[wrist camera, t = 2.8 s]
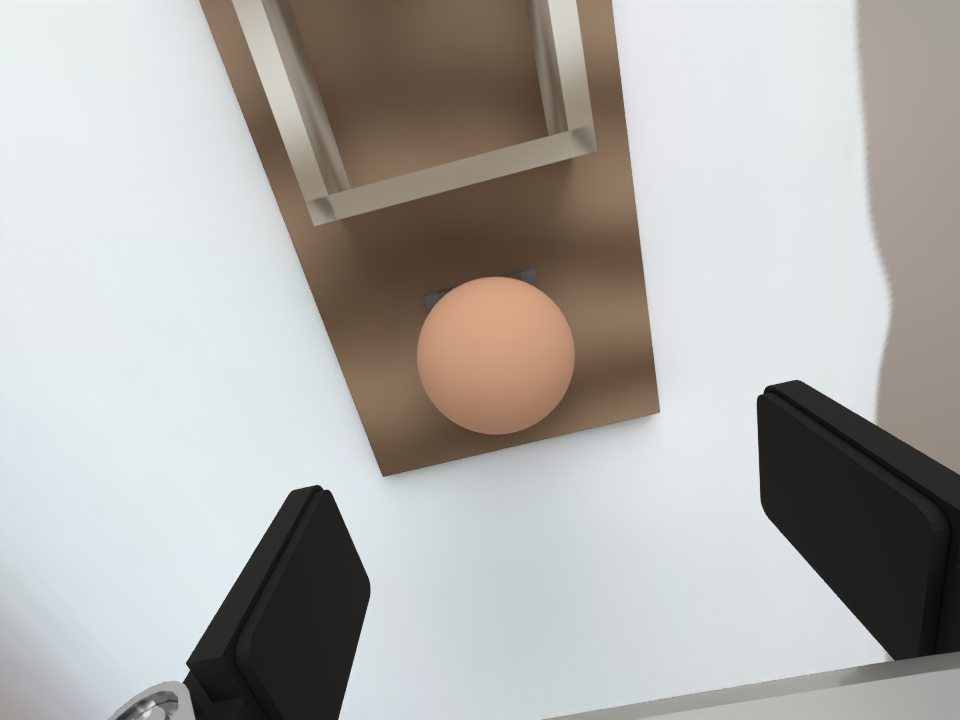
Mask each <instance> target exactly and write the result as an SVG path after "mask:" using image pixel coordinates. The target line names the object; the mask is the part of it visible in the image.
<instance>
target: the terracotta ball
mask: <svg viewBox="0 0 960 720" xmlns="http://www.w3.org/2000/svg"><path fill="white" fill-rule="evenodd" d="M574 362H575V350H574V342H573V337H572V333H571V330H570V327H569V325H568V323H567V321H566V319H565V317H564V315H563V313H562V312H561V310H560V309H559V307H558V306H557V305H556V304H555V303H554V302H553V301H552V300H551V299H550V298H549V297H548V296H547V295H546V294H544V293H543V292H542V291H540V290H539V289H537V288H536V287H534V286H532V285H530V284H528V283H526V282H523V281H520V280H517V279H512V278H507V277H485V278H480V279H476V280H472V281H469V282H467V283H464V284H462V285H460V286H458V287H456V288H454V289H453V290H451V291H450V292H449V293H447V294H446V295H445V296H444V297H443V298H441V299H440V300H439V301H438V302H437V304H436V305H435V306H434V307H433V309H432V310H431V312H430V313H429V315H428V316H427V318H426V320H425V322H424V324H423V327H422V329H421V332H420V336H419V340H418V347H417V364H418V371H419V375H420V378H421V382H422V385H423V387H424V389H425V391H426V393H427V395H428V396H429V398H430V400H431V401H432V402H433V404H434V405H435V406H436V407H437V408H438V410H439V411H440V412H441V413H442V414H443V415H445V416H446V417H447V418H448V419H450V420H451V421H453V422H454V423H456V424H458V425H460V426H462V427H464V428H466V429H469V430H471V431H475V432H479V433H484V434H508V433H513V432H517V431H520V430H523V429H526V428H528V427H530V426H532V425H534V424H536V423H537V422H539V421H541V420H542V419H543V418H544V417H546V416H547V415H548V414H549V413H550V412H551V411H552V410H553V409H554V408H555V407H556V406H557V405H558V403H559V402H560V401H561V399H562V398H563V396H564V394H565V393H566V391H567V388H568V386H569V384H570V381H571V377H572V374H573V370H574Z"/></svg>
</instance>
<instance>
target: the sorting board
mask: <svg viewBox="0 0 960 720" xmlns="http://www.w3.org/2000/svg"><path fill="white" fill-rule="evenodd" d="M199 1H200V4H201V6H202V9H203V12H204V14H205V17H206V19H207V22H208V24H209V27H210V30H211V32H212V35H213V37H214V40H215V43H216V45H217V48H218V50H219V53H220V56H221V58H222V61H223V63H224V66H225V69H226V71H227V74H228V76H229V79H230V82H231V84H232V87H233V89H234V92H235V95H236V97H237V100H238V102H239V105H240V107H241V110H242V113H243V115H244V118H245V120H246V123H247V126H248V128H249V131H250V133H251V136H252V139H253V141H254V144H255V146H256V149H257V152H258V154H259V157H260V159H261V162H262V165H263V167H264V170H265V172H266V175H267V178H268V180H269V183H270V185H271V188H272V191H273V193H274V196H275V198H276V201H277V203H278V206H279V209H280V211H281V214H282V216H283V219H284V222H285V224H286V227H287V229H288V232H289V235H290V237H291V240H292V242H293V245H294V248H295V250H296V253H297V255H298V258H299V261H300V263H301V266H302V268H303V271H304V274H305V276H306V279H307V281H308V284H309V286H310V289H311V292H312V294H313V297H314V299H315V302H316V305H317V307H318V310H319V312H320V315H321V318H322V320H323V323H324V325H325V328H326V331H327V333H328V336H329V338H330V341H331V344H332V346H333V349H334V351H335V354H336V357H337V359H338V362H339V364H340V367H341V369H342V372H343V375H344V377H345V380H346V382H347V385H348V388H349V390H350V393H351V395H352V398H353V401H354V403H355V406H356V408H357V411H358V414H359V416H360V419H361V421H362V424H363V427H364V429H365V432H366V434H367V437H368V440H369V442H370V445H371V447H372V450H373V452H374V455H375V458H376V460H377V463H378V465H379V468H380V471H381V473H382V476H383V477H385V476H389V475H393V474H398V473H402V472H406V471H410V470H415V469H419V468H423V467H428V466H432V465H436V464H441V463H445V462H449V461H454V460H458V459H462V458H466V457H471V456H475V455H479V454H484V453H488V452H492V451H497V450H501V449H505V448H510V447H514V446H518V445H522V444H527V443H531V442H535V441H540V440H544V439H548V438H553V437H557V436H561V435H566V434H570V433H574V432H578V431H583V430H587V429H591V428H596V427H600V426H604V425H609V424H613V423H617V422H622V421H626V420H630V419H634V418H639V417H643V416H647V415H652V414H656V413H660V407H659V399H658V390H657V382H656V373H655V365H654V356H653V348H652V339H651V331H650V322H649V314H648V305H647V297H646V288H645V280H644V272H643V263H642V255H641V246H640V238H639V229H638V221H637V212H636V204H635V195H634V187H633V178H632V170H631V161H630V153H629V145H628V136H627V128H626V119H625V111H624V102H623V94H622V85H621V77H620V68H619V60H618V51H617V43H616V34H615V26H614V17H613V9H612V1H611V0H199ZM485 277H507V278H512V279H517V280H520V281H523V282H526V283H528V284H530V285H532V286H534V287H536V288H537V289H539V290H540V291H542V292H543V293H544V294H546V295H547V296H548V297H549V298H550V299H551V300H552V301H553V302H554V303H555V304H556V305H557V306H558V307H559V309H560V310H561V312H562V313H563V315H564V317H565V319H566V321H567V323H568V325H569V327H570V330H571V333H572V337H573V342H574V350H575V362H574V370H573V374H572V377H571V381H570V384H569V386H568V388H567V391H566V393H565V394H564V396H563V398H562V399H561V401H560V402H559V403H558V405H557V406H556V407H555V408H554V409H553V410H552V411H551V412H550V413H549V414H548V415H547V416H546V417H544V418H543V419H542V420H541V421H539V422H537V423H536V424H534V425H532V426H530V427H528V428H526V429H523V430H520V431H517V432H513V433H508V434H484V433H479V432H475V431H471V430H469V429H466V428H464V427H462V426H460V425H458V424H456V423H454V422H453V421H451V420H450V419H448V418H447V417H446V416H445V415H443V414H442V413H441V412H440V411H439V410H438V408H437V407H436V406H435V405H434V404H433V402H432V401H431V400H430V398H429V396H428V395H427V393H426V391H425V389H424V387H423V385H422V382H421V378H420V375H419V371H418V364H417V347H418V340H419V336H420V332H421V329H422V327H423V324H424V322H425V320H426V318H427V316H428V315H429V313H430V312H431V310H432V309H433V307H434V306H435V305H436V304H437V302H438V301H439V300H440V299H441V298H443V297H444V296H445V295H446V294H447V293H449V292H450V291H451V290H453V289H454V288H456V287H458V286H460V285H462V284H464V283H467V282H469V281H472V280H476V279H480V278H485Z"/></svg>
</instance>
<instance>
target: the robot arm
mask: <svg viewBox="0 0 960 720" xmlns="http://www.w3.org/2000/svg"><path fill="white" fill-rule="evenodd" d="M757 422H758V447H759V473H760V498H761V504H762V507H763V510H764V512H765V514H766V515H767V517H768V518H769V519H770V520H771V522H772V523H773V524H774V525H775V526H776V527H777V528H778V529H779V531H780V532H781V533H782V534H783V535H784V536H785V537H786V538H787V540H788V541H789V542H790V543H791V544H792V545H793V546H794V548H795V549H796V550H797V551H798V552H799V553H800V554H801V555H802V557H803V558H804V559H805V560H806V561H807V562H808V563H809V564H810V566H811V567H812V568H813V569H814V570H815V571H816V572H817V573H818V575H819V576H820V577H821V578H822V579H823V580H824V581H825V582H826V584H827V585H828V586H829V587H830V588H831V589H832V590H833V592H834V593H835V594H836V595H837V596H838V597H839V598H840V599H841V601H842V602H843V603H844V604H845V605H846V606H847V607H848V608H849V610H850V611H851V612H852V613H853V614H854V615H855V616H856V617H857V619H858V620H859V621H860V622H861V623H862V624H863V625H864V626H865V628H866V629H867V630H868V631H869V632H870V633H871V634H872V636H873V637H874V638H875V639H876V640H877V641H878V642H879V643H880V645H881V646H882V647H883V648H884V649H885V650H886V651H887V652H888V654H889V655H890V656H891V657H892V658H893V659H894V660H895V661H890V662H884V663H877V664H870V665H864V666H858V667H852V668H846V669H840V670H834V671H828V672H822V673H816V674H810V675H804V676H798V677H792V678H786V679H779V680H773V681H767V682H761V683H755V684H749V685H743V686H737V687H731V688H725V689H719V690H713V691H707V692H701V693H695V694H689V695H683V696H677V697H671V698H665V699H660V700H654V701H648V702H642V703H636V704H630V705H624V706H618V707H613V708H607V709H601V710H595V711H589V712H583V713H578V714H572V715H566V716H560V717H554V718H549V719H543V720H960V475H959V474H957V473H955V472H954V471H952V470H950V469H949V468H947V467H945V466H943V465H942V464H940V463H938V462H937V461H935V460H933V459H932V458H930V457H928V456H927V455H925V454H923V453H922V452H920V451H918V450H916V449H915V448H913V447H912V446H910V445H908V444H906V443H905V442H903V441H901V440H900V439H898V438H896V437H895V436H893V435H891V434H890V433H888V432H886V431H884V430H883V429H881V428H879V427H878V426H876V425H874V424H873V423H871V422H869V421H868V420H866V419H864V418H863V417H861V416H859V415H858V414H856V413H854V412H853V411H851V410H849V409H847V408H846V407H844V406H842V405H841V404H839V403H837V402H836V401H834V400H832V399H831V398H829V397H827V396H826V395H824V394H822V393H820V392H819V391H817V390H815V389H814V388H812V387H810V386H809V385H807V384H805V383H804V382H802V381H799V380H793V381H789V382H784V383H780V384H775V385H770V386H767V387H766V388H765V390H764V394H762V395H759V396H758V398H757ZM369 598H370V582H369V578H368V576H367V574H366V571H365V569H364V567H363V564H362V562H361V560H360V557H359V555H358V553H357V550H356V548H355V546H354V543H353V541H352V539H351V537H350V534H349V532H348V530H347V527H346V525H345V523H344V520H343V518H342V516H341V513H340V511H339V509H338V507H337V504H336V502H335V500H334V497H333V495H332V493H331V492H330V491H329V490H323V488H322V487H321V486H319V485H315V486H310V487H306V488H301V489H297V490H293V491H291V492H290V494H289V495H288V497H287V498H286V500H285V502H284V503H283V505H282V507H281V508H280V510H279V512H278V513H277V515H276V516H275V518H274V520H273V521H272V523H271V525H270V526H269V528H268V530H267V531H266V533H265V534H264V536H263V538H262V539H261V541H260V543H259V544H258V546H257V548H256V549H255V551H254V552H253V554H252V556H251V557H250V559H249V561H248V562H247V564H246V566H245V567H244V569H243V571H242V572H241V574H240V575H239V577H238V579H237V580H236V582H235V584H234V585H233V587H232V589H231V590H230V592H229V593H228V595H227V597H226V598H225V600H224V602H223V603H222V605H221V607H220V608H219V610H218V611H217V613H216V615H215V616H214V618H213V620H212V621H211V623H210V625H209V626H208V628H207V630H206V631H205V633H204V634H203V636H202V638H201V639H200V641H199V643H198V644H197V646H196V648H195V649H194V651H193V652H192V654H191V656H190V657H189V659H188V661H187V662H186V664H187V666H188V667H189V669H190V672H189V673H188V675H187V677H186V678H185V680H184V682H183V683H180V682H178V681H170V682H163V683H160V684H158V685H155V686H152V687H150V688H148V689H146V690H145V691H143V692H141V693H140V694H138V695H136V696H135V697H133V698H132V699H131V700H129V701H128V702H127V703H125V704H124V705H123V706H122V707H120V708H119V709H118V710H117V711H116V712H115V713H114V714H113V715H112V716H111V717H110V718H109V719H108V720H338V718H339V714H340V710H341V706H342V703H343V699H344V695H345V691H346V687H347V683H348V679H349V676H350V672H351V668H352V664H353V660H354V656H355V652H356V649H357V645H358V641H359V637H360V633H361V629H362V625H363V622H364V618H365V614H366V610H367V606H368V602H369Z"/></svg>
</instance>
